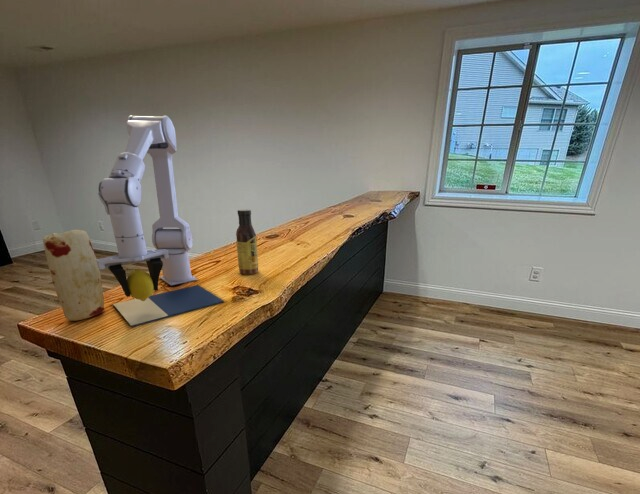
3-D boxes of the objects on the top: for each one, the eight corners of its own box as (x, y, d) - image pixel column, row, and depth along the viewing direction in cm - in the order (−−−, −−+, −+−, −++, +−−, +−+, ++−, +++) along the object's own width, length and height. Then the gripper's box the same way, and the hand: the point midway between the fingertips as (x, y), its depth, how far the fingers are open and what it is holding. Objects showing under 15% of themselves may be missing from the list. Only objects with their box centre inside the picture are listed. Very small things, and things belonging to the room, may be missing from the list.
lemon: (146, 306, 80) (139, 273, 77) (125, 304, 81) (117, 271, 78) (161, 297, 85) (155, 266, 82) (141, 296, 86) (134, 264, 83)
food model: (77, 327, 76) (49, 236, 68) (57, 321, 78) (28, 233, 71) (116, 310, 85) (96, 227, 77) (97, 306, 87) (75, 225, 79)
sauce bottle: (256, 275, 110) (252, 211, 102) (237, 275, 110) (230, 211, 102) (260, 269, 116) (256, 208, 108) (241, 269, 116) (236, 208, 108)
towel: (113, 305, 87) (112, 303, 87) (198, 286, 101) (198, 284, 101) (131, 327, 76) (130, 325, 76) (223, 302, 90) (223, 300, 90)
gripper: (95, 243, 70) (111, 305, 75) (169, 233, 79) (178, 289, 84) (88, 237, 74) (103, 296, 80) (158, 229, 83) (168, 282, 89)
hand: (141, 292), depth 82 cm, fingers closed on lemon, 5 cm apart
